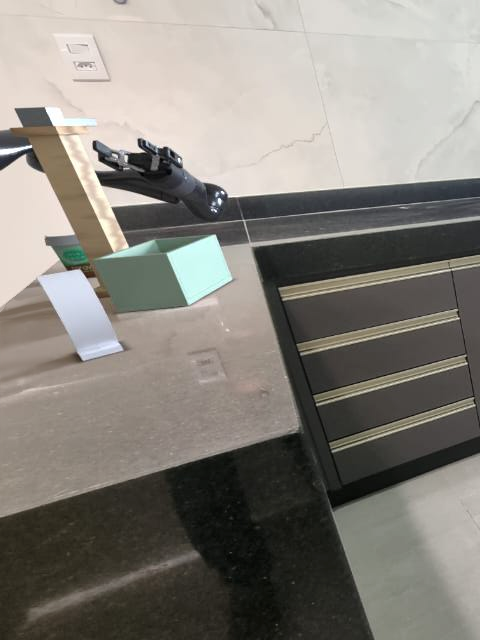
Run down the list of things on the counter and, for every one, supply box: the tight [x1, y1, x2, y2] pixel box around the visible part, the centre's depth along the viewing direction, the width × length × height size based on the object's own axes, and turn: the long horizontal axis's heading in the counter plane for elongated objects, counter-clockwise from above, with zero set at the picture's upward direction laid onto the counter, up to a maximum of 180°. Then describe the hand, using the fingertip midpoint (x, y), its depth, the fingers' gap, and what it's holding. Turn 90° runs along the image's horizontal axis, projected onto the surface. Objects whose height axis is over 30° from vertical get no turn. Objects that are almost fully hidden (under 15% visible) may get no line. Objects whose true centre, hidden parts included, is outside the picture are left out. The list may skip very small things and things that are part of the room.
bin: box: [92, 233, 233, 314], centre depth 105 cm, size 19×12×10 cm, turn 13°
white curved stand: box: [35, 269, 124, 362], centre depth 77 cm, size 5×6×12 cm
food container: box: [44, 234, 96, 279], centre depth 124 cm, size 12×6×10 cm, turn 122°
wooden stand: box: [9, 126, 130, 299], centre depth 106 cm, size 9×9×32 cm
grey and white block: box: [14, 106, 99, 128], centre depth 103 cm, size 14×5×3 cm, turn 13°
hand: (117, 143), depth 116 cm, fingers open, 8 cm apart
